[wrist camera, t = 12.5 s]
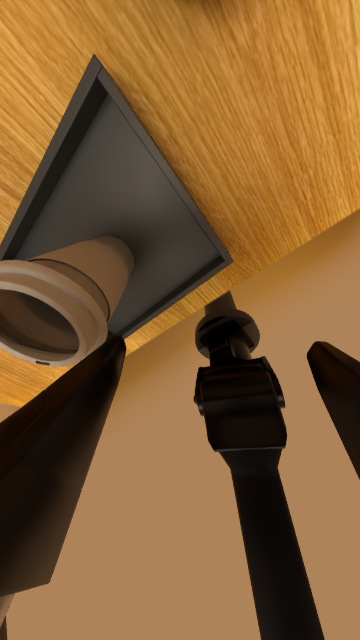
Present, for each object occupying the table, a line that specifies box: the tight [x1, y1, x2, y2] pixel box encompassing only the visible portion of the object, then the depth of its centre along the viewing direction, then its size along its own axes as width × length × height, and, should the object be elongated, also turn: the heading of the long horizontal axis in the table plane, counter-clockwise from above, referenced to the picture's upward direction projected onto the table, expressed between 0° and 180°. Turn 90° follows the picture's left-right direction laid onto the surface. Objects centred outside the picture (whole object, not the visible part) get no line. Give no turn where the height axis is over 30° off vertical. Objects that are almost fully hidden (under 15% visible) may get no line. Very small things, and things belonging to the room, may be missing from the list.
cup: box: [0, 236, 134, 367], centre depth 14 cm, size 7×7×12 cm
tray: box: [0, 54, 233, 341], centre depth 18 cm, size 15×19×3 cm
